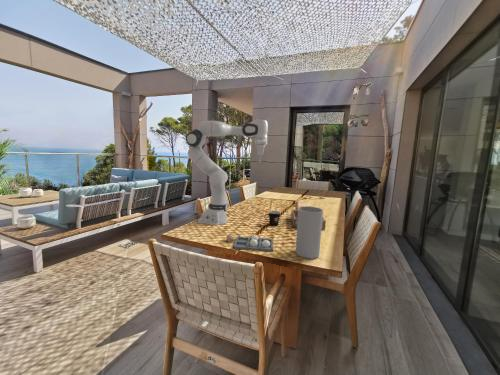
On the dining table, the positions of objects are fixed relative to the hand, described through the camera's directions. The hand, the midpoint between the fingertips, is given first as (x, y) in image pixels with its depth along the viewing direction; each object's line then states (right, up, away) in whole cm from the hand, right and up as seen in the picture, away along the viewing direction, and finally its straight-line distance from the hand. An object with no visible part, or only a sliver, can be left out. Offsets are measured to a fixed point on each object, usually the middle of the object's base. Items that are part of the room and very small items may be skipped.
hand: (260, 161), depth 161 cm
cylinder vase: (+24, -55, -40) cm, 72 cm away
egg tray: (-5, -52, -31) cm, 61 cm away
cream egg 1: (-5, -51, -28) cm, 58 cm away
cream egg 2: (-5, -52, -35) cm, 63 cm away
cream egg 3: (+2, -53, -35) cm, 63 cm away
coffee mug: (+9, -47, +7) cm, 48 cm away
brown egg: (-19, -51, -27) cm, 61 cm away
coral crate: (+37, -47, +13) cm, 61 cm away
